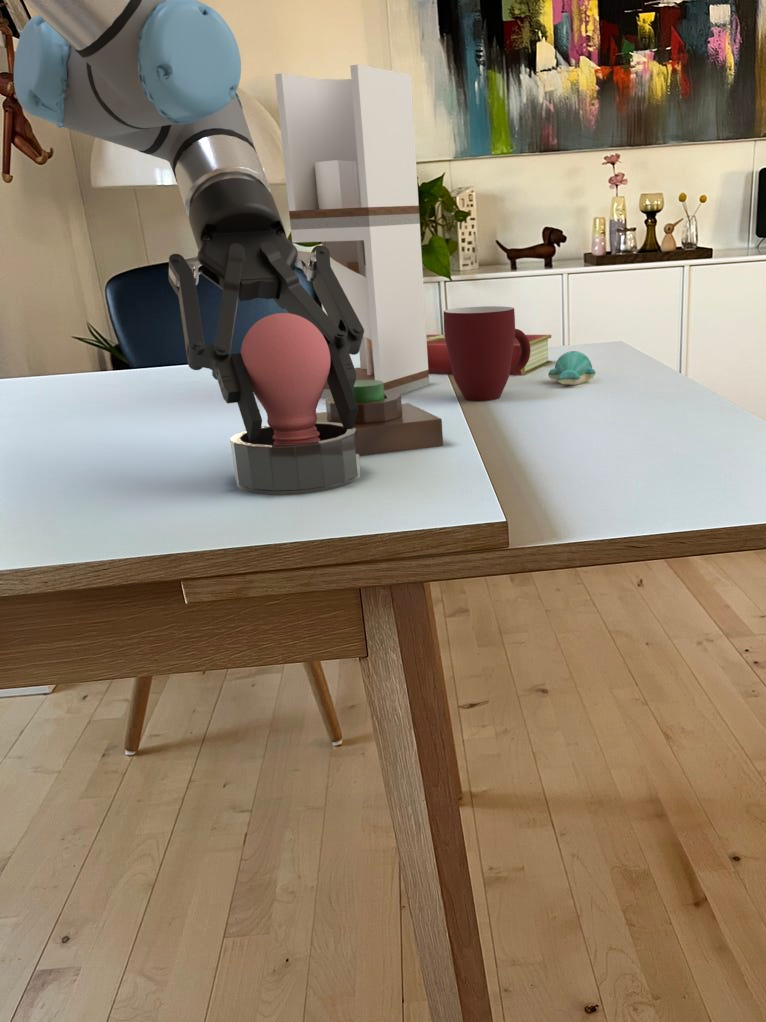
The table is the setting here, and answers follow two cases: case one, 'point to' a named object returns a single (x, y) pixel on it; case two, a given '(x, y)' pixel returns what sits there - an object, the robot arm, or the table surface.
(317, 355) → the light bulb
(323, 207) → the white shelf unit
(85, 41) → the robot arm
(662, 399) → the table surface
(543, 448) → the table surface
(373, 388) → the button
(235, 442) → the lamp socket
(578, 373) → the toy turtle
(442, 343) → the hardcover book
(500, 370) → the mug
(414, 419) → the lamp base
